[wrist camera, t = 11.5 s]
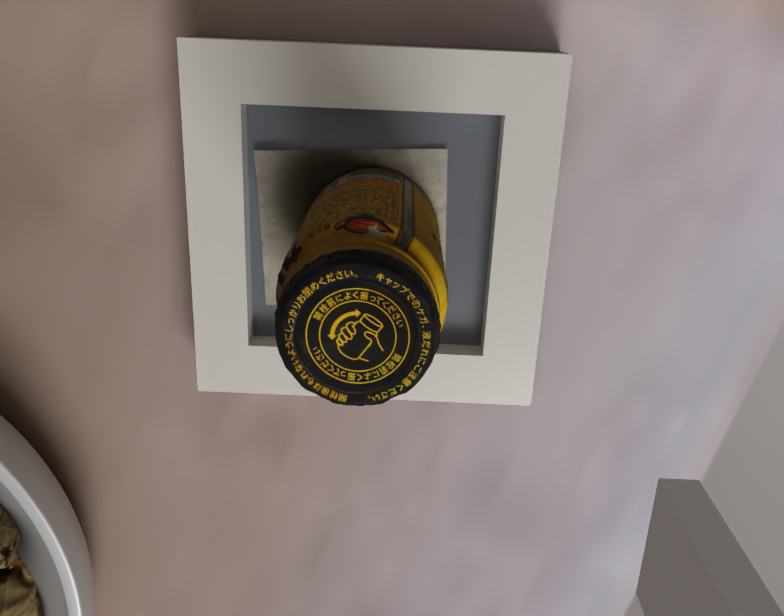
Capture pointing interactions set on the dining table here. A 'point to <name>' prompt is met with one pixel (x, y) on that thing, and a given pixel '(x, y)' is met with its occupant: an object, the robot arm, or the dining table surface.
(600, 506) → the dining table surface
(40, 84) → the dining table surface
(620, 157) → the dining table surface
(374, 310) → the condiment
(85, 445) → the dining table surface
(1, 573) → the bowl
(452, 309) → the pocket plate
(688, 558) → the robot arm
